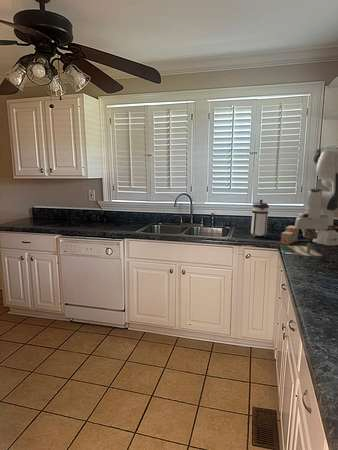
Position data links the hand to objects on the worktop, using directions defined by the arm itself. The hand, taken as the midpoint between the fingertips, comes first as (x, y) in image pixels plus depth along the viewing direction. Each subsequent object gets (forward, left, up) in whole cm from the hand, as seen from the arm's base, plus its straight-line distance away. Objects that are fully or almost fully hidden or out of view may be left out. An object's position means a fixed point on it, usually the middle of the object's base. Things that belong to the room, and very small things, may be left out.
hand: (310, 235), depth 199 cm
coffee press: (+17, -55, -13) cm, 59 cm away
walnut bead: (0, 0, -1) cm, 1 cm away
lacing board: (0, -6, -13) cm, 14 cm away
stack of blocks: (0, -32, -13) cm, 34 cm away
